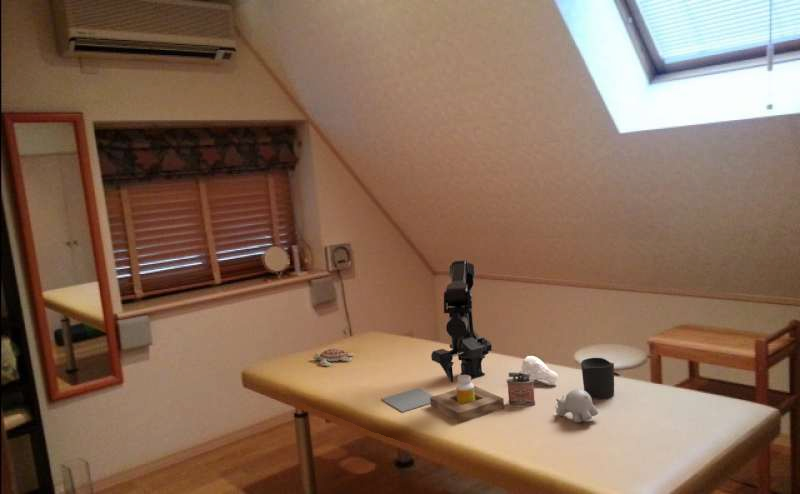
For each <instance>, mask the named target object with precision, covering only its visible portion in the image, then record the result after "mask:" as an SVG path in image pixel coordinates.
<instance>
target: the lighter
mask: <svg viewBox="0 0 800 494" xmlns="http://www.w3.org/2000/svg"><path fill="white" fill-rule="evenodd" d="M525 377H526V378H525ZM506 383H507V395H508V401H507V402H508V403H507V404H508V405H509V406H515V407H534V406H535V405H536V400H535V391H534V390H535V388H534V383H535V380H533V379H529V373H523V371H522V370H520V371H519V372H517V371H509V372H508V378H507V379H506Z"/></svg>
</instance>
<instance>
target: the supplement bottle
mask: <svg viewBox="0 0 800 494" xmlns="http://www.w3.org/2000/svg"><path fill="white" fill-rule="evenodd" d="M474 386H475V385H474V383H473V382H472V379H471V376H469V375H460V374H459V375H458V376H457V383H456V386H455V387H456V388H455V390H457V402H458V403H460V404H462V405H464V404H467V403H470V402H473V401H475V393H474Z"/></svg>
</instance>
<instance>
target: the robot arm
mask: <svg viewBox="0 0 800 494" xmlns="http://www.w3.org/2000/svg"><path fill="white" fill-rule="evenodd" d="M448 267H449V270H448V271H449V279H450V280H451V282H450V283H448V284H447V285H446V289H445V291H444V292H443V313H444V314H448V317H449V318H448V320H447V323H446V326H445V330H446V333H447V334H448V335H449V336H450V339H451V344H449V348H450V349H451V350H447V349H444V348H440V349H436V350H433V351H432V352H431V355H430V356H431V361H433V362H435V363H437V364H439V365H440V367H441V368H442V369H443V372H444V373H445V374H446V377H447V378H448V380H449V382H450V383H453V382H454V372H453V366H454V363H455V362H453V361H452V360H453V359H454V357H456V356H457V358H458V361H461V363H460V370H461V372H460V373H459V376H460V375H469V376H471V380H472V379H476V378H478V377H483V376H485V374H486V373H485V372H483V367H482V362H483V360H484V359H485V358H486V356H487V355H489V354H490V352H491V351H493V345H492V343H491V341H489V340H487V338H485V337H484V336H483V337H480V335H479V334H478V333H477V332H476V330H475V324H474V313H473V294H472V292H471V290H472V288H473V286H474V283H475V279H476V277H477V276H476V272H477V271H476V266H475V265H474V264H473V263H470V262H469V261H468V260H465V259H464V260H453V261H451V264H450V265H449V266H448Z"/></svg>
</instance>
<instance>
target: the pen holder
mask: <svg viewBox="0 0 800 494" xmlns="http://www.w3.org/2000/svg"><path fill="white" fill-rule="evenodd" d="M580 365H581V374H582V382H583V383H582V384H583V390H584V391H586V392H587V393H588V394H589V395H590V396H591V399H594V398H596V400H604V399H603V398H607V399H610V398H612V397H613V396H614V395H615V363H614V362H610V361H609V360H607V359H605V358H604V357H589V358H586V359H585V358H584V359H583V360H582V361H581V363H580ZM611 396H612V397H611ZM609 397H610V398H609Z"/></svg>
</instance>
